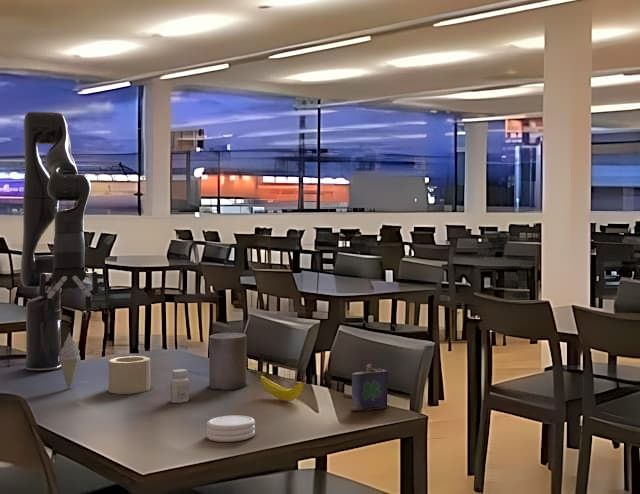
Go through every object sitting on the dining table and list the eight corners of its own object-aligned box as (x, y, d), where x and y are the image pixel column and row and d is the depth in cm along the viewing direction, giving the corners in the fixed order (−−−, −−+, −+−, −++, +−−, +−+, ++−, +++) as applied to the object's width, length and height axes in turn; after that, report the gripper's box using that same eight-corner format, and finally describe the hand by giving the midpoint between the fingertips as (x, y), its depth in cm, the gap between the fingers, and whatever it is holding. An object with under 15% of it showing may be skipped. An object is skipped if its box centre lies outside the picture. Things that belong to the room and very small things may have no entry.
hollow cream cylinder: (106, 388, 253) (106, 357, 253) (146, 384, 258) (146, 355, 258) (111, 395, 244) (111, 364, 244) (153, 391, 249) (153, 360, 249)
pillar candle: (242, 381, 262) (242, 327, 262) (249, 388, 254) (250, 331, 254) (205, 384, 258) (205, 329, 258) (212, 391, 250) (212, 333, 249)
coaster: (241, 428, 211) (241, 412, 211) (263, 437, 203) (263, 420, 203) (198, 435, 204) (198, 419, 204) (219, 445, 196) (219, 428, 196)
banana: (265, 393, 247) (265, 369, 247) (309, 405, 234) (309, 379, 234) (255, 395, 245) (255, 370, 245) (299, 407, 232) (299, 380, 232)
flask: (354, 412, 227) (354, 366, 226) (349, 409, 229) (349, 365, 229) (389, 407, 231) (389, 363, 231) (384, 405, 234) (384, 361, 234)
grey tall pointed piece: (83, 387, 254) (83, 331, 254) (73, 391, 249) (73, 333, 249) (64, 387, 254) (65, 330, 254) (54, 390, 249) (55, 333, 249)
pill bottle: (192, 400, 239) (192, 369, 239) (181, 403, 235) (181, 372, 235) (177, 398, 240) (177, 368, 240) (166, 402, 236) (166, 371, 236)
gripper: (96, 248, 258) (96, 308, 258) (38, 250, 251) (38, 311, 251) (99, 250, 251) (99, 311, 251) (40, 251, 245) (40, 314, 245)
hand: (69, 311), depth 251 cm, fingers open, 8 cm apart
